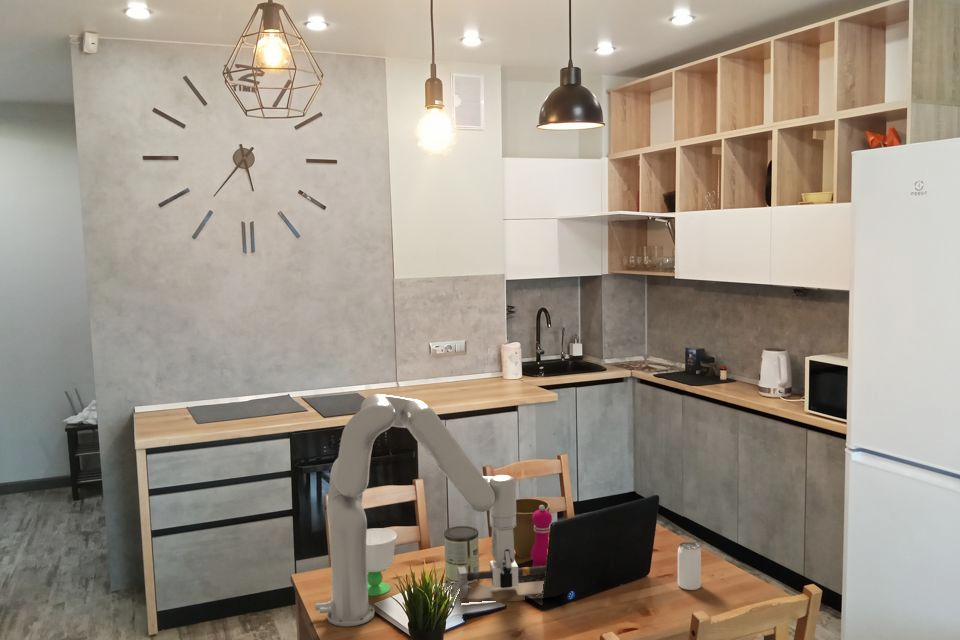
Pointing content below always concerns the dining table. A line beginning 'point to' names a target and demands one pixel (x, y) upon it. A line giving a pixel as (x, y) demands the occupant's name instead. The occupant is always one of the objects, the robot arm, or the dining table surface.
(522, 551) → the plant pot
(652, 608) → the dining table surface
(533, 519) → the pepper mill
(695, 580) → the can
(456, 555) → the coffee can
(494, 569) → the white cubic block
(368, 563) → the cup
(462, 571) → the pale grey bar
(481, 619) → the dining table surface
